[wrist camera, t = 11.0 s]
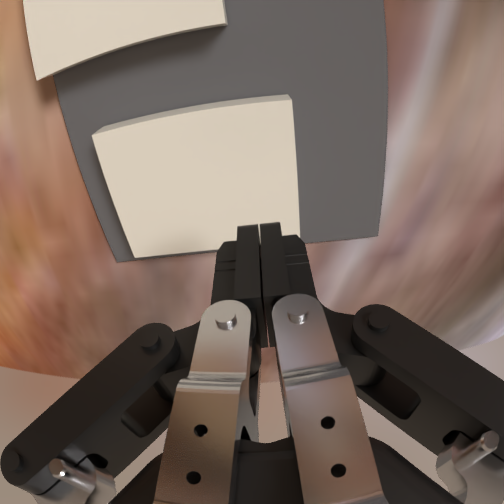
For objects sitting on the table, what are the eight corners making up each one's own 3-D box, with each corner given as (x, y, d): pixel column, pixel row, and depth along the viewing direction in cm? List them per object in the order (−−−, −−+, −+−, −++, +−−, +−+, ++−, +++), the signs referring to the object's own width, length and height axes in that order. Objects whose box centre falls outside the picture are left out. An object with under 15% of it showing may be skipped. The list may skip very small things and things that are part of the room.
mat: (361, -102, 7) (364, -104, 7) (375, 232, 20) (377, 236, 20) (40, -42, 8) (36, -43, 8) (118, 258, 21) (117, 262, 21)
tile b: (291, 99, 13) (91, 135, 14) (300, 241, 18) (134, 257, 19) (287, 93, 15) (104, 125, 15) (296, 224, 19) (141, 241, 20)
